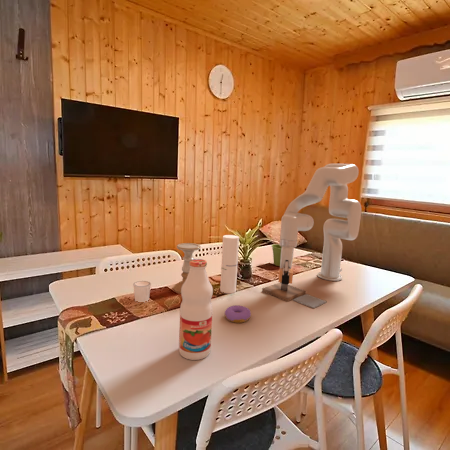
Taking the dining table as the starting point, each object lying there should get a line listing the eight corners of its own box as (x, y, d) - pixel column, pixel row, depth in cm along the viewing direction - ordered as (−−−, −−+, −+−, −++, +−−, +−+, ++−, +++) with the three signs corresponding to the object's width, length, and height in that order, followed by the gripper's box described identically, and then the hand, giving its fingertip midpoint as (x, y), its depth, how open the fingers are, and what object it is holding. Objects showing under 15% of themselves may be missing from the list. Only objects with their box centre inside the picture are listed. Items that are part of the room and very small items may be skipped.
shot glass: (153, 298, 132) (154, 282, 131) (144, 304, 126) (144, 287, 124) (139, 295, 134) (139, 279, 133) (129, 301, 128) (129, 284, 127)
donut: (234, 309, 125) (237, 298, 124) (253, 321, 120) (256, 310, 119) (218, 317, 118) (221, 305, 116) (237, 330, 112) (240, 319, 111)
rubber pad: (306, 295, 144) (306, 294, 144) (326, 302, 137) (326, 301, 137) (293, 300, 137) (293, 299, 137) (313, 308, 130) (313, 307, 130)
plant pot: (291, 268, 184) (293, 249, 182) (271, 267, 184) (272, 248, 182) (288, 262, 196) (289, 244, 194) (268, 261, 196) (270, 243, 194)
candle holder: (206, 289, 144) (208, 246, 141) (185, 296, 135) (187, 250, 132) (188, 282, 153) (190, 241, 149) (167, 288, 144) (168, 244, 140)
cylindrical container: (234, 294, 141) (237, 238, 137) (218, 292, 142) (221, 237, 138) (237, 288, 148) (240, 235, 144) (222, 286, 149) (224, 234, 145)
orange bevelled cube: (279, 277, 148) (279, 267, 147) (292, 279, 147) (293, 268, 146) (278, 282, 143) (279, 271, 142) (292, 283, 141) (292, 272, 140)
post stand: (280, 285, 155) (282, 268, 154) (305, 294, 145) (307, 276, 144) (262, 291, 146) (263, 274, 144) (287, 301, 136) (288, 283, 134)
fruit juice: (204, 341, 101) (207, 255, 96) (215, 357, 93) (219, 264, 88) (175, 346, 97) (177, 257, 93) (184, 363, 89) (187, 267, 84)
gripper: (280, 237, 151) (277, 274, 154) (278, 246, 134) (275, 287, 137) (296, 239, 149) (293, 276, 152) (297, 248, 133) (293, 289, 136)
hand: (285, 280), depth 145 cm, fingers closed on orange bevelled cube, 6 cm apart
